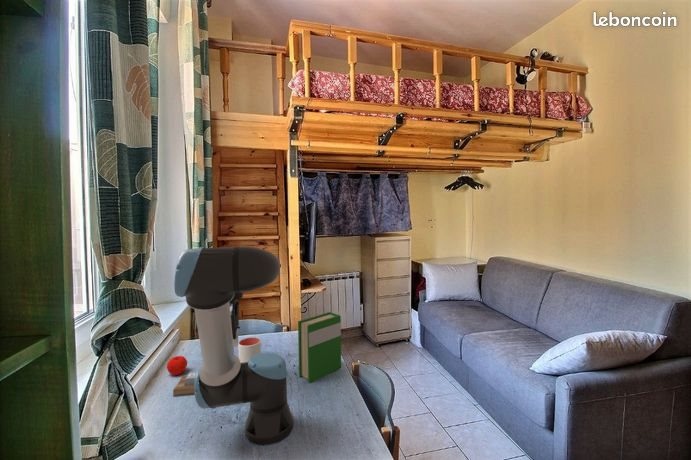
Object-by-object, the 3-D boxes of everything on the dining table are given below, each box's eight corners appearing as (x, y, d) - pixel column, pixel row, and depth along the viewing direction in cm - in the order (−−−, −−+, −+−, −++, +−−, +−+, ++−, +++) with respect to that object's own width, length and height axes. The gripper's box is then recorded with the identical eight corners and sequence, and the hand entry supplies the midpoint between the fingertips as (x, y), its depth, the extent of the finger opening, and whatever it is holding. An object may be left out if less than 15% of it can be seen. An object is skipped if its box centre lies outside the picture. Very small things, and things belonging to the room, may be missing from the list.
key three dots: (199, 387, 123) (198, 377, 123) (185, 388, 123) (185, 378, 122) (203, 380, 128) (202, 370, 128) (190, 381, 128) (189, 371, 127)
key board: (249, 389, 123) (248, 383, 123) (173, 396, 119) (173, 390, 119) (253, 375, 134) (252, 369, 134) (183, 381, 130) (183, 375, 130)
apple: (181, 367, 142) (180, 351, 142) (191, 371, 138) (191, 355, 138) (163, 375, 135) (162, 358, 135) (173, 380, 131) (173, 362, 131)
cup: (264, 357, 151) (263, 337, 150) (256, 368, 141) (255, 346, 140) (244, 357, 152) (243, 337, 151) (235, 367, 142) (234, 345, 141)
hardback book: (309, 383, 127) (308, 325, 126) (299, 376, 133) (298, 321, 132) (341, 368, 140) (340, 315, 138) (330, 362, 145) (329, 311, 144)
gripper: (239, 292, 120) (241, 352, 121) (245, 284, 133) (246, 338, 134) (219, 293, 119) (221, 353, 120) (226, 285, 132) (228, 340, 133)
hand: (234, 345), depth 127 cm, fingers closed
